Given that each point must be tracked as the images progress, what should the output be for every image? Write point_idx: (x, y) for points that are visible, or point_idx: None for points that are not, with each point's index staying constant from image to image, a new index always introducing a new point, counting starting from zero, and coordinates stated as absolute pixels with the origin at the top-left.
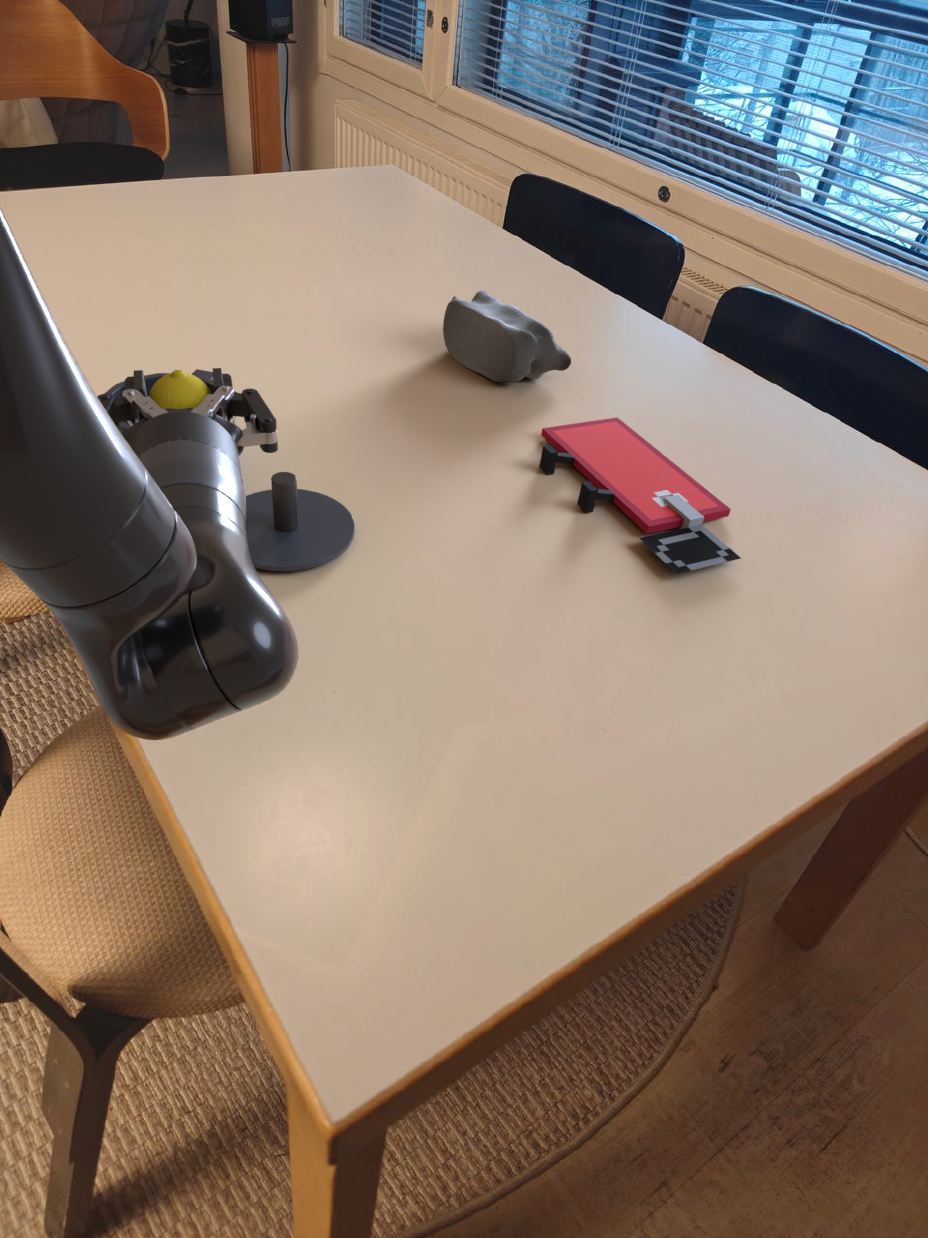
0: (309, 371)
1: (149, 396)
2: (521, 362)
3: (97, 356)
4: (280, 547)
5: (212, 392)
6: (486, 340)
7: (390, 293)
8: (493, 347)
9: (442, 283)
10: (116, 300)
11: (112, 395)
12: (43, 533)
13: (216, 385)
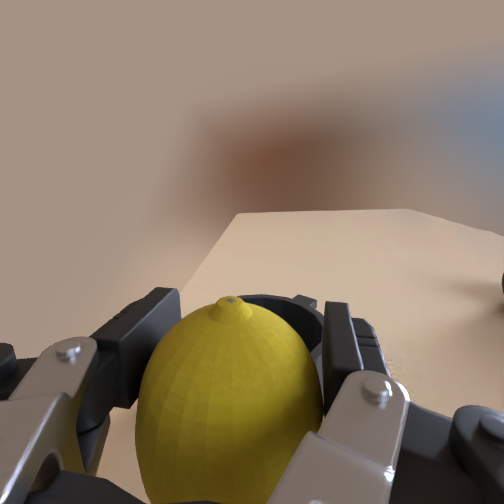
0: (385, 304)
1: (150, 357)
2: None
3: (240, 279)
4: None
5: (309, 319)
6: None
7: (432, 259)
8: None
9: (469, 256)
10: (263, 252)
11: (8, 354)
12: None
13: (337, 362)
